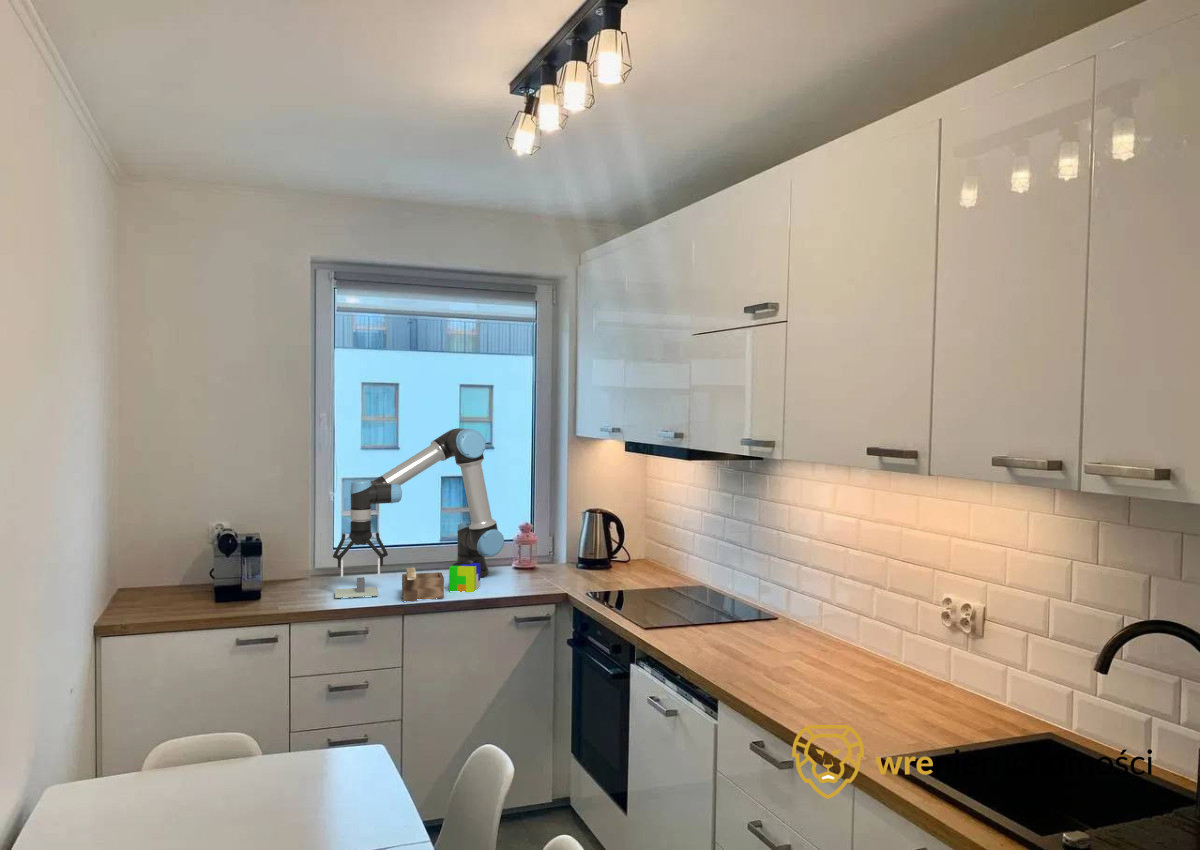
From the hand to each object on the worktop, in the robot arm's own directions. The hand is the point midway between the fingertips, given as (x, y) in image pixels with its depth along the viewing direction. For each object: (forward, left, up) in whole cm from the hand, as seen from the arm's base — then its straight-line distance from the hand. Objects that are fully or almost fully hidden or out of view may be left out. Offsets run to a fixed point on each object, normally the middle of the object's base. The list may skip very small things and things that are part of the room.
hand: (360, 575), depth 329 cm
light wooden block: (-18, +18, +2) cm, 26 cm away
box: (-23, +9, -8) cm, 26 cm away
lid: (+1, 0, -8) cm, 8 cm away
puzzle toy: (-40, -1, -8) cm, 41 cm away
